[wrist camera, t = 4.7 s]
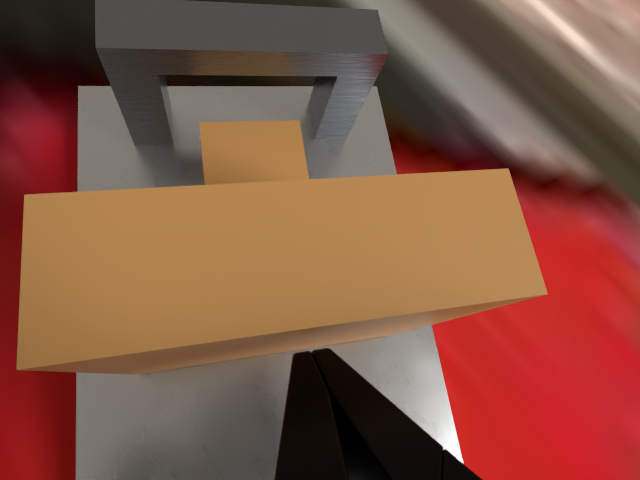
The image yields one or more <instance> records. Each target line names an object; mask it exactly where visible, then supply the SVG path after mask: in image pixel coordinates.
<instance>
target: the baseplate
mask: <svg viewBox="0 0 640 480" xmlns="http://www.w3.org/2000/svg"><path fill="white" fill-rule="evenodd" d="M95 33H96V50H97V52H98V55H99V57H100V60H101V62H102V65H103V67H104V70H105V73H106V75H107V78H108V80H109V83H110V85H111V86H78V192H83V191H101V190H120V189H138V188H157V187H175V186H194V185H205V183H204V172H203V160H202V149H201V137H200V126H199V122H234V121H288V120H300V126H301V132H302V138H303V145H304V151H305V157H306V163H307V169H308V175H309V179H324V178H343V177H361V176H380V175H397V173H396V168H395V164H394V160H393V155H392V151H391V147H390V142H389V138H388V134H387V129H386V125H385V120H384V116H383V112H382V107H381V103H380V99H379V94H378V90H377V87H372V86H373V84H374V82H375V80H376V78H377V76H378V74H379V72H380V70H381V68H382V66H383V64H384V62H385V60H386V58H387V56H388V50H387V46H386V42H385V38H384V34H383V30H382V26H381V22H380V18H379V14H378V10H368V9H347V8H327V7H307V6H287V5H266V4H246V3H226V2H206V1H185V0H95ZM165 75H245V76H316V79H315V83H314V86H167V84H166V79H165ZM322 348H330V349H331V350H333V351H334V352H335V353H336V354H337V355H338V356H339V357H341V358H342V359H343V360H344V361H345V362H346V363H348V364H349V365H350V366H351V367H352V368H353V369H354V370H356V371H357V372H358V373H359V374H360V375H361V376H362V377H364V378H365V379H366V380H367V381H368V382H369V383H370V384H372V385H373V386H374V387H375V388H376V389H377V390H379V391H380V392H381V393H382V394H383V395H384V396H385V397H387V398H388V399H389V400H390V401H391V402H392V403H393V404H395V405H396V406H397V407H398V408H399V409H400V410H401V411H403V412H404V413H405V414H406V415H407V416H408V417H410V418H411V419H412V420H413V421H414V422H415V423H416V424H418V425H419V426H420V427H421V428H422V429H423V430H424V431H426V432H427V433H428V434H429V435H430V436H431V437H433V438H434V439H435V440H436V441H437V442H438V443H439V444H441V445H442V446H443V450H444V449H446V450H448V451H449V452H450V453H451V454H452V455H453V456H455V457H456V458H457V459H458V460H459V461H460V462H461V463H463V460H462V456H461V451H460V447H459V443H458V438H457V434H456V430H455V425H454V421H453V417H452V412H451V408H450V403H449V399H448V395H447V390H446V386H445V382H444V377H443V373H442V369H441V364H440V360H439V356H438V351H437V347H436V343H435V338H434V334H433V329H432V325H429V326H425V327H421V328H417V329H413V330H410V331H406V332H402V333H398V334H394V335H389V336H382V337H376V338H369V339H363V340H356V341H350V342H343V343H337V344H330V345H324V346H317V347H311V348H305V349H298V350H292V351H285V352H279V353H272V354H266V355H259V356H253V357H246V358H240V359H233V360H227V361H220V362H214V363H207V364H201V365H195V366H188V367H182V368H175V369H169V370H162V371H156V372H149V373H143V374H136V375H128V374H103V373H78V372H76V480H274V477H275V470H276V463H277V457H278V450H279V443H280V437H281V430H282V423H283V417H284V410H285V403H286V397H287V390H288V383H289V377H290V370H291V363H292V357H293V354H294V353H297V352H303V351H310V352H312V351H313V350H316V349H322Z"/></svg>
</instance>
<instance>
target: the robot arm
mask: <svg viewBox="0 0 640 480" xmlns="http://www.w3.org/2000/svg"><path fill="white" fill-rule="evenodd" d="M274 480H482V479H481V478H480V477H478V476H477V475H476V474H475V473H474V472H472V471H471V470H470V469H469V468H468V467H466V466H465V465H464V464H463V463H461V462H460V461H459V460H458V459H457V458H456V457H455V456H453V455H452V454H451V453H450V452H449V451H448V450H446V449H444V450H443V446H442V445H441V444H439V443H438V442H437V441H436V440H435V439H434V438H433V437H431V436H430V435H429V434H428V433H427V432H426V431H424V430H423V429H422V428H421V427H420V426H419V425H418V424H416V423H415V422H414V421H413V420H412V419H411V418H410V417H408V416H407V415H406V414H405V413H404V412H403V411H401V410H400V409H399V408H398V407H397V406H396V405H395V404H393V403H392V402H391V401H390V400H389V399H388V398H387V397H385V396H384V395H383V394H382V393H381V392H380V391H379V390H377V389H376V388H375V387H374V386H373V385H372V384H370V383H369V382H368V381H367V380H366V379H365V378H364V377H362V376H361V375H360V374H359V373H358V372H357V371H356V370H354V369H353V368H352V367H351V366H350V365H349V364H348V363H346V362H345V361H344V360H343V359H342V358H341V357H339V356H338V355H337V354H336V353H335V352H334V351H333V350H331V349H330V348H322V349H316V350H313V351H312V352H310V351H303V352H297V353H294V354H293V357H292V363H291V370H290V377H289V383H288V390H287V397H286V403H285V410H284V417H283V423H282V430H281V437H280V443H279V450H278V457H277V463H276V470H275V477H274Z"/></svg>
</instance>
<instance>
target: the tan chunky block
mask: <svg viewBox="0 0 640 480" xmlns="http://www.w3.org/2000/svg"><path fill="white" fill-rule="evenodd" d="M199 126H200V137H201V149H202V160H203V172H204V183H205V185H194V186H175V187H157V188H138V189H120V190H101V191H83V192H64V193H46V194H27V195H24V213H23V235H22V257H21V280H20V302H19V324H18V346H17V368H16V370H28V371H53V372H78V373H103V374H128V375H136V374H143V373H149V372H156V371H162V370H169V369H175V368H182V367H188V366H195V365H201V364H207V363H214V362H220V361H227V360H233V359H240V358H246V357H253V356H259V355H266V354H272V353H279V352H285V351H292V350H298V349H305V348H311V347H317V346H324V345H330V344H337V343H343V342H350V341H356V340H363V339H369V338H376V337H382V336H389V335H394V334H398V333H402V332H406V331H410V330H413V329H417V328H421V327H425V326H429V325H432V324H436V323H440V322H444V321H448V320H451V319H455V318H459V317H463V316H467V315H470V314H474V313H478V312H482V311H486V310H489V309H493V308H497V307H501V306H505V305H508V304H512V303H516V302H520V301H524V300H527V299H531V298H535V297H539V296H542V295H546V294H548V293H547V290H546V287H545V284H544V280H543V277H542V274H541V271H540V268H539V264H538V261H537V258H536V255H535V252H534V249H533V245H532V242H531V239H530V236H529V233H528V229H527V226H526V223H525V220H524V217H523V213H522V210H521V207H520V204H519V201H518V197H517V194H516V191H515V188H514V185H513V182H512V178H511V175H510V172H509V169H491V170H473V171H454V172H435V173H417V174H398V175H380V176H361V177H343V178H324V179H309V175H308V169H307V163H306V157H305V151H304V145H303V138H302V132H301V126H300V120H288V121H234V122H199Z"/></svg>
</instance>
